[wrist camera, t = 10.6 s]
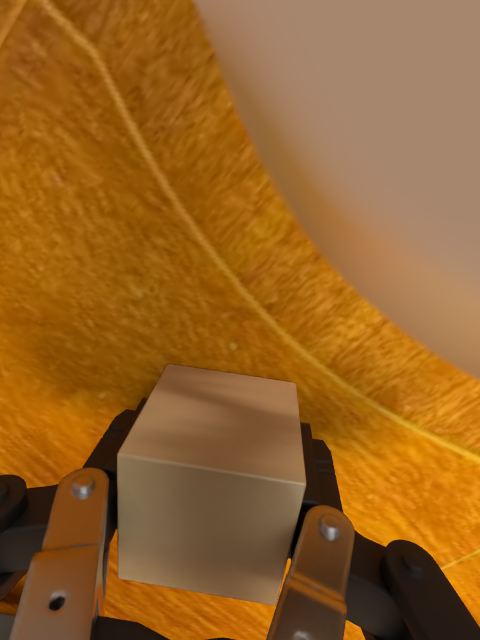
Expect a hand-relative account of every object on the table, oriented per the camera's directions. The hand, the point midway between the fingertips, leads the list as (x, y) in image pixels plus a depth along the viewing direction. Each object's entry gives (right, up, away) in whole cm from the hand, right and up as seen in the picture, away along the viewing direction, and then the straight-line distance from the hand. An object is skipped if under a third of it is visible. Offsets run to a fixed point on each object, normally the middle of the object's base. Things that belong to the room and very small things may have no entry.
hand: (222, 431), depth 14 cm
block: (0, 0, 0) cm, 0 cm away
